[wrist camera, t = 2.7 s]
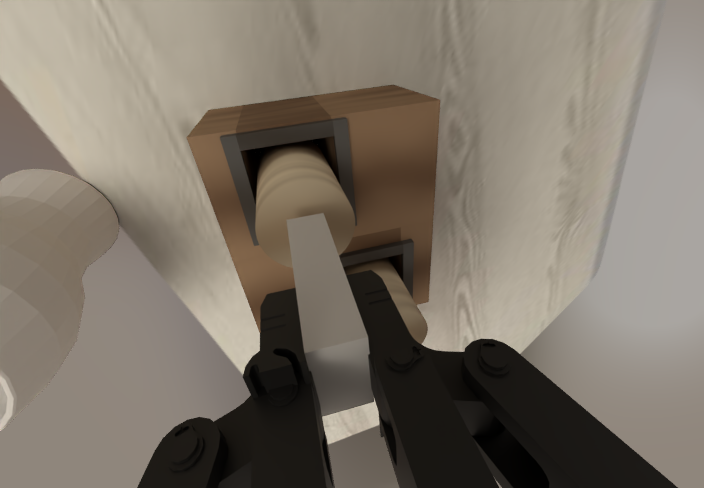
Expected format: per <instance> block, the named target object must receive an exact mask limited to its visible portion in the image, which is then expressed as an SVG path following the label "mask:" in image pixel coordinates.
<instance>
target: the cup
mask: <svg viewBox="0 0 704 488" xmlns="http://www.w3.org/2000/svg"><path fill="white" fill-rule="evenodd" d="M118 232H119V224H118V217H117V215H116V213H115V211H114V209H113V207H112V205H111V204H110V203H109V202H108V200H107V199H106V198H105V197H104V196H103V195H102V194H101V193H100V192H99V191H97V190H96V189H95V188H94V187H92V186H91V185H90V184H88V183H86V182H84V181H82V180H80V179H78V178H76V177H74V176H72V175H68V174H65V173H62V172H59V171H54V170H46V169H28V170H20V171H17V172H15V173H12V174H9V175H7V176H6V177H4V178H3V179H2V180H1V181H0V431H1V430H2V429H4V428H5V427H6V426H7V425H8V424H9V423H10V422H11V421H12V420H13V419H14V418H15V417H16V416H17V415H18V414H19V413H20V412H21V411H22V410H23V409H24V408H25V407H26V406H27V405H28V404H29V403H30V402H31V401H32V400H33V399H34V398H35V397H36V396H37V395H38V394H39V393H40V392H41V391H42V390H43V389H44V388H45V387H46V386H47V385H48V384H49V383H50V381H51V380H52V378H53V377H54V376H55V374H56V373H57V372H58V370H59V369H60V367H61V365H62V364H63V362H64V360H65V359H66V357H67V356H68V354H69V352H70V351H71V349H72V347H73V346H74V344H75V342H76V341H77V336H78V332H79V327H80V322H81V316H82V310H83V304H84V299H85V295H84V290H83V285H82V280H81V278H82V276H83V274H84V272H85V270H86V268H87V267H88V266H89V265H90V264H92V263H93V262H94V261H95V260H97V259H98V258H99V257H101V256H102V255H103V254H104V253H105V252H106V251H107V250H109V249H110V248H111V246H112V245H113V244H114V242H115V241H116V239H117V236H118Z"/></svg>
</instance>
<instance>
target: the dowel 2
mask: <svg viewBox="0 0 704 488" xmlns="http://www.w3.org/2000/svg"><path fill="white" fill-rule="evenodd" d="M343 269H344V271H345V274H346V275H350V274H354V273H359V272H363V271H368V270H372V271H374V272H375V273H376V274H378V275H379V276H380V277H381V278H382V279H383V281H384V283H385V285H386V287H387V290H388V291H389V293H390V295H391V297H392V300H393V301H394V303H395V305H396V307H397V309H398V311H399V313H400V315H401V317H402V319H403V321H404V322H405V324H406V326H407V328H408V330H409V332H410V334H411V335H412V337H413V338H414V339H415V340H416V341H417V342H418V343H420V344H422V343H423V341H424V339H425V337H426V335H427V330H428V327H427V323H426V321H425V319H424V317H423V316H422V314H421V312H420V311H419V309H418V307H417V305H416V304H415V302H414V300H413V299H412V297H411V295H410V294H409V292H408V290H407V288H406V287H405V285H404V283H403V282H402V280H401V278H400V276H399V275H398V273H397V271H396V270H395V268H394V266H393V265H392V263H391V261H390V259H389V258H388V257H386V258H381V259H377V260H372V261H367V262H363V263H358V264H354V265H349V266H345V267H343Z"/></svg>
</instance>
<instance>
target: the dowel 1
mask: <svg viewBox="0 0 704 488" xmlns="http://www.w3.org/2000/svg"><path fill="white" fill-rule="evenodd" d="M320 213H324V216H325V219H326V221H327V224H328V227H329V230H330V233H331V235H332V238H333V241H334V244H335V246H336V249H337V252H338V255H340V254H341V253H342V252H343V251H344V250H345V249H346V248H347V246H348V245H349V243H350V241H351V239H352V237H353V234H354V230H355V216H354V212H353V209H352V207H351V205H350V203H349V201H348V199H347V197H346V195H345V193H344V192H343V190H342V188H341V186H340V184H339V182H338V181H337V179H336V177H335V175H334V173H333V171H332V169H331V168H330V166H329V164H328V162H327V160H326V158H325V157H324V155H323V153H322V151H321V150H320V148H319V147H318V146H317V145H316V144H315V143H313V142H312V141H310V140H306V141H300V142H294V143H287V144H281V145H275V146H268V147H265V148H264V149H263V151H262V153H261V155H260V157H259V161H258V171H257V196H256V222H255V230H256V236H257V240H258V242H259V245H260V246H261V248H262V250H263V251H264V252H265V253H266V254H267V255H268V256H269V257H270V258H271V259H273V260H274V261H276V262H277V263H279V264H281V265H284V266H287V267H291V268H293V265H292V258H291V250H290V243H289V236H288V228H287V221H286V220H289V219H294V218H299V217H304V216H310V215H315V214H320Z"/></svg>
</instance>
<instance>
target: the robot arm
mask: <svg viewBox="0 0 704 488" xmlns="http://www.w3.org/2000/svg"><path fill="white" fill-rule="evenodd" d="M286 221H287V228H288V236H289V243H290V250H291V258H292V265H293V273H294V280H295V287H296V288H292V289H287V290H283V291H278V292H274V293H269V294H267V295H266V297H265V299H264V301H263V302H262V304H261V306H260V320H261V322H260V331H261V333H260V351H259V352H258V353H257V354H255V355H254V356H253V357H252V358H251V360H250V361H249V362H248V364H247V365H246V367H245V371H244V374H243V378H244V381H245V383H246V385H247V387H248V389H249V391H250V393H251V396H250V397H249V398H248V399H247V400H246V401H245V402H244V403H243V404H241V405H240V406H239V407H237V408H236V409H234V410H233V411H231V412H229V413H228V414H226V415H224V416H223V417H221V418H219V419H218V420H216V421H214V422H213V421H212V420H211V419H207V418H202V417H198V418H194V419H189V420H186V421H185V422H183V423H181V424H179V425H178V426H176V427H174V428H173V429H172V430H171V431H170V432H169V433H168V434H167V435H166V436H165V437H164V438H163V439H162V441H161V442H160V444H159V445H158V447H157V448H156V450H155V452H154V454H153V456H152V458H151V460H150V462H149V464H148V466H147V468H146V470H145V473H144V475H143V477H142V479H141V481H140V483H139V485H138V487H137V488H335V486H334V480H333V474H332V468H331V462H330V456H329V451H328V444H327V438H326V435H325V431H324V426H323V420H322V416H326V415H329V414H333V413H336V412H340V411H343V410H347V409H350V408H354V407H357V406H361V405H364V404H368V403H371V402H374V398H375V402H376V405H377V408H378V411H379V422H380V433H381V437H384V438H385V441H386V445H387V448H388V451H389V454H390V458H391V461H392V464H393V468H394V471H395V474H396V477H397V481H398V484H399V487H400V488H499V486H498V485H497V483H496V481H495V479H496V480H497V481H498V483H499V484H500V485H501V487H502V488H678V487H676V486H675V485H674V484H673V483H672V482H671V481H669V480H668V479H667V478H666V477H665V476H663V475H662V474H661V473H660V472H659V471H657V470H656V469H655V468H654V467H653V466H652V465H650V464H649V463H648V462H647V461H646V460H644V459H643V458H642V457H641V456H640V455H639V454H637V453H636V452H635V451H634V450H632V449H631V448H630V447H629V446H628V445H627V444H625V443H624V442H623V441H622V440H621V439H620V438H618V437H617V436H616V435H615V434H614V433H612V432H611V431H610V430H609V429H608V428H606V427H605V426H604V425H603V424H602V423H601V422H599V421H598V420H597V419H596V418H595V417H593V416H592V415H591V414H590V413H589V412H588V411H586V410H585V409H584V408H583V407H582V406H580V405H579V404H578V403H577V402H576V401H574V400H573V399H572V398H571V397H570V396H569V395H567V394H566V393H565V392H564V391H563V390H561V389H560V388H559V387H558V386H557V385H556V384H554V383H553V382H552V381H551V380H550V379H549V378H547V377H546V376H545V375H544V374H543V373H541V372H540V371H539V370H538V369H537V368H535V367H534V366H533V365H532V364H531V363H529V362H528V361H527V360H526V359H525V358H524V357H522V356H521V355H520V354H519V353H518V352H517V351H515V350H514V349H513V348H511V347H510V346H508V345H506V344H505V343H503V342H500V341H497V340H493V339H479V340H476V341H473V342H471V343H470V344H469V345H468V346H467V347H466V348H465V352H447V351H436V350H432V349H429V348H426V347H424V346H423V345H421V344H420V343H418V342H417V341H416V340H415V339H414V338H413V337H412V335H411V334H410V332H409V330H408V328H407V326H406V324H405V322H404V321H403V319H402V317H401V315H400V313H399V311H398V309H397V307H396V305H395V303H394V301H393V300H392V297H391V295H390V293H389V291H388V290H387V287H386V285H385V283H384V281H383V279H382V278H381V277H380V276H379V275H378V274H376V273H375V272H374V271H372V270H368V271H363V272H359V273H354V274H350V275H346V274H345V271H344V269H343V266H342V263H341V260H340V258H339V255H338V252H337V249H336V246H335V244H334V241H333V238H332V235H331V233H330V230H329V227H328V224H327V221H326V219H325V216H324V213H320V214H315V215H310V216H304V217H299V218H294V219H289V220H286ZM493 476H494V477H493ZM494 478H495V479H494Z"/></svg>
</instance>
